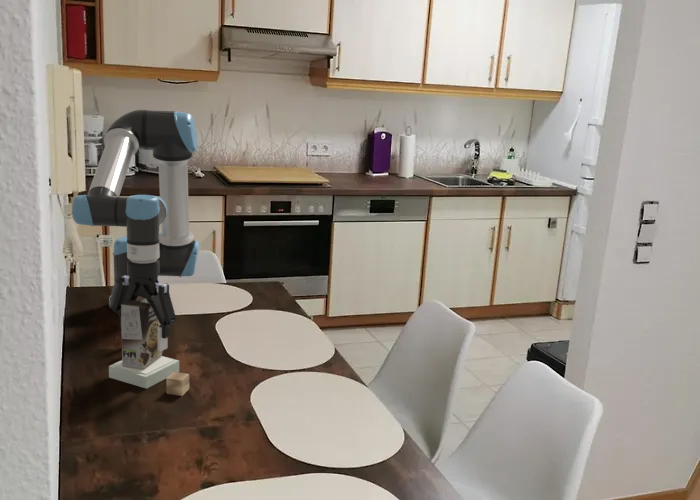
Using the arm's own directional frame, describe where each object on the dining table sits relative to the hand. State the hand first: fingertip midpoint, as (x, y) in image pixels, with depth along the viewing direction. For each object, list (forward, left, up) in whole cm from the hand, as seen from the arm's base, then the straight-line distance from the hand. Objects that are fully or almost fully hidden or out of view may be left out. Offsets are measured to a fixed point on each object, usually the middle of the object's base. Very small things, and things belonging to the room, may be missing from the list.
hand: (144, 344), depth 167 cm
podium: (0, 0, -8) cm, 8 cm away
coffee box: (-1, 0, -5) cm, 5 cm away
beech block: (+13, -3, -8) cm, 16 cm away
